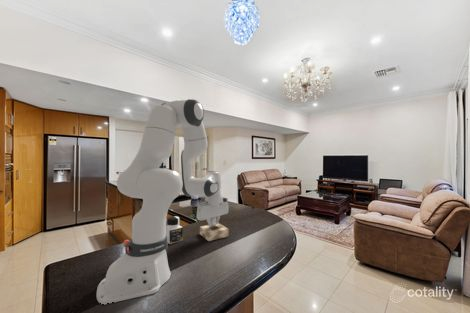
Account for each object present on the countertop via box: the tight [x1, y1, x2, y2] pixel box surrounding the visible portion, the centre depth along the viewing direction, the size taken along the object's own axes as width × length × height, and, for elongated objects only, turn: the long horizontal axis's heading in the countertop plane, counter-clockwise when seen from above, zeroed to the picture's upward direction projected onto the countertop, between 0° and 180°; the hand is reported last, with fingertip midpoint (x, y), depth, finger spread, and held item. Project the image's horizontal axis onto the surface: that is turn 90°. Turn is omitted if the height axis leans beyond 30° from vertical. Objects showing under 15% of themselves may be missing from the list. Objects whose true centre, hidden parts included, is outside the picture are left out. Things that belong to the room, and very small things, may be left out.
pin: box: [210, 217, 217, 230], centre depth 110 cm, size 3×3×9 cm
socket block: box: [199, 222, 230, 242], centre depth 110 cm, size 12×12×4 cm
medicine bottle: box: [166, 216, 184, 245], centre depth 103 cm, size 7×7×12 cm
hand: (213, 224), depth 110 cm, fingers closed on pin, 3 cm apart
